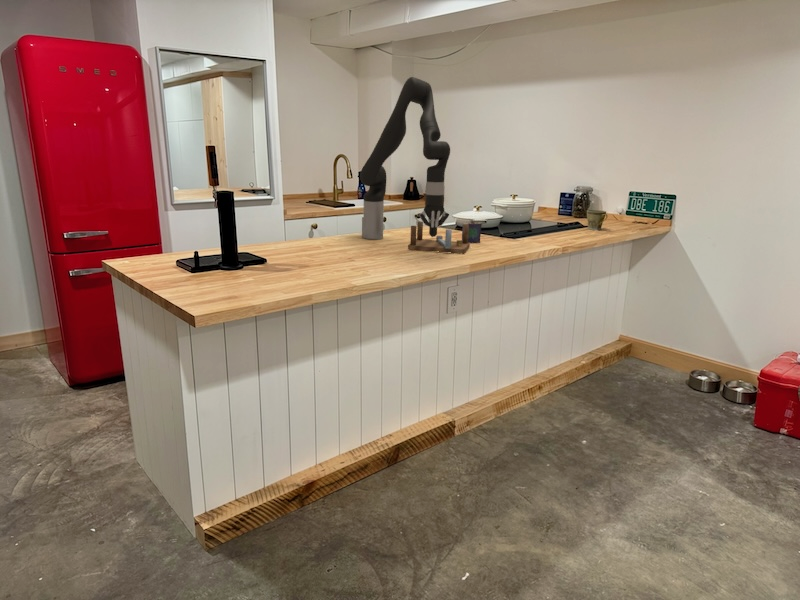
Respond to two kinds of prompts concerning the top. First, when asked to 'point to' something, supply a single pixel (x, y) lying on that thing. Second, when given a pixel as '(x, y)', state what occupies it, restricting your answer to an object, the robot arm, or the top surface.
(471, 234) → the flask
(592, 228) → the ceramic cup
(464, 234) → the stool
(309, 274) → the top surface
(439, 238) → the cylinder
